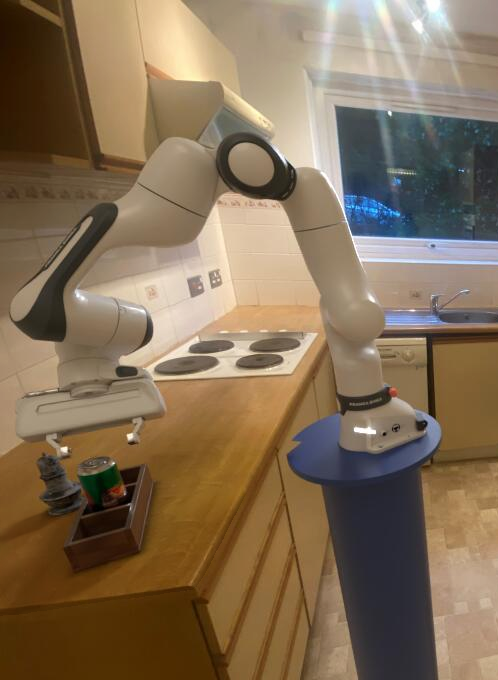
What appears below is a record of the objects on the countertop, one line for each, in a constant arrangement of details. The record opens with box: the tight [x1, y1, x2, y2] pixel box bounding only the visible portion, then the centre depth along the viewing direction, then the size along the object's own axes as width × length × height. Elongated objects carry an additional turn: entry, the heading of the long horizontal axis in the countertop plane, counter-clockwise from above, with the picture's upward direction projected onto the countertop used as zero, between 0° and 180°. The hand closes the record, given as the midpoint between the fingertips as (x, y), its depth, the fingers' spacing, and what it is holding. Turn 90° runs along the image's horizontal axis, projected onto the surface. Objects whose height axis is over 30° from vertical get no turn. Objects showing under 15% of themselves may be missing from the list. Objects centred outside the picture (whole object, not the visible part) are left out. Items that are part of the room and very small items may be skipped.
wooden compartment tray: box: [62, 462, 155, 573], centre depth 78 cm, size 8×23×5 cm, turn 33°
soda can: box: [76, 455, 131, 513], centre depth 76 cm, size 5×5×12 cm
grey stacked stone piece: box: [35, 451, 84, 516], centre depth 81 cm, size 6×6×12 cm
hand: (100, 450), depth 78 cm, fingers open, 8 cm apart
